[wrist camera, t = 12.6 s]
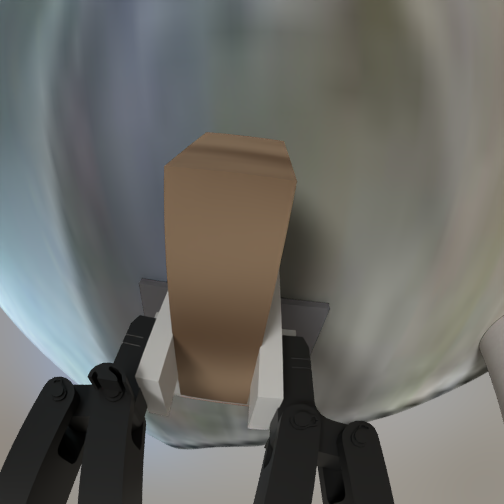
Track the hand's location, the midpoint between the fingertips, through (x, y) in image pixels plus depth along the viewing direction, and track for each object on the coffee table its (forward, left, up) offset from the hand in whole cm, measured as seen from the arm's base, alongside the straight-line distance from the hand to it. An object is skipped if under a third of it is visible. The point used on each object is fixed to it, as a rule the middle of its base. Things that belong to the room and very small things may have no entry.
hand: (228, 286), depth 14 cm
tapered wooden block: (+3, 0, -1) cm, 3 cm away
